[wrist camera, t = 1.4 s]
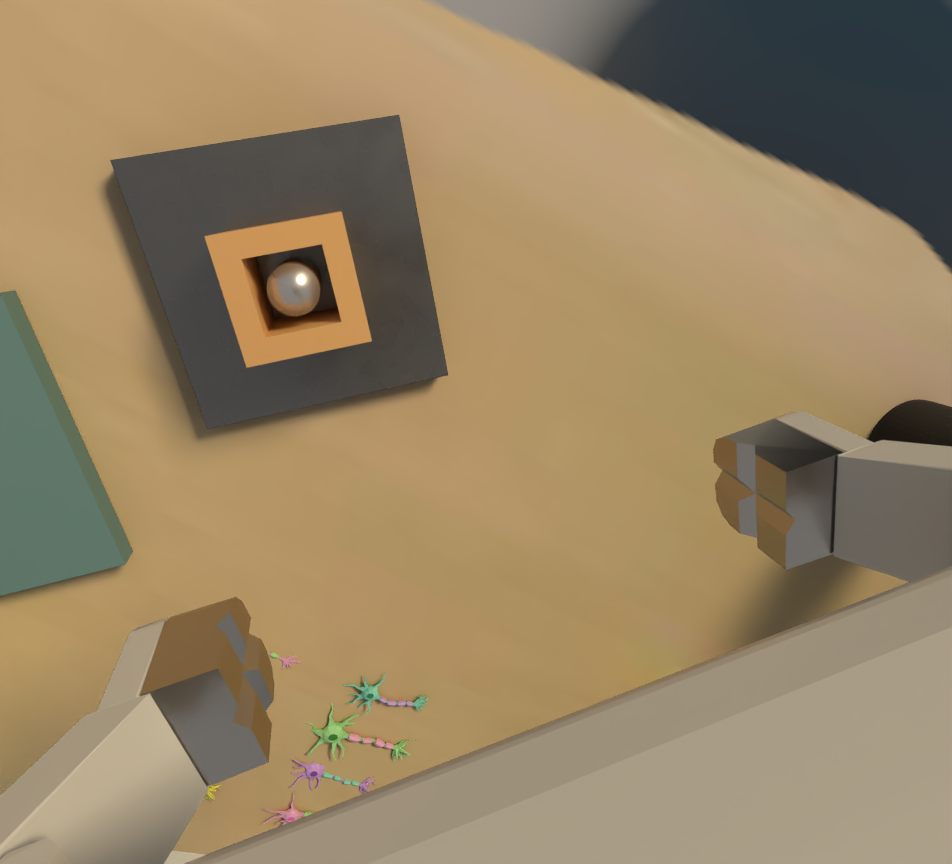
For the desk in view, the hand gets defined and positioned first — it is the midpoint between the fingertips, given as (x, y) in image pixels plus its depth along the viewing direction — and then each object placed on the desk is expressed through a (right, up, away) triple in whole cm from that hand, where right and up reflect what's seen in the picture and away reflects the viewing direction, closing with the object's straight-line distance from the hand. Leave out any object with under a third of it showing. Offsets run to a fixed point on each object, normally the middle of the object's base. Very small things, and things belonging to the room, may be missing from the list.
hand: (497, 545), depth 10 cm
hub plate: (-30, 0, +23) cm, 38 cm away
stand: (-10, +11, +24) cm, 28 cm away
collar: (-10, +10, +22) cm, 26 cm away
